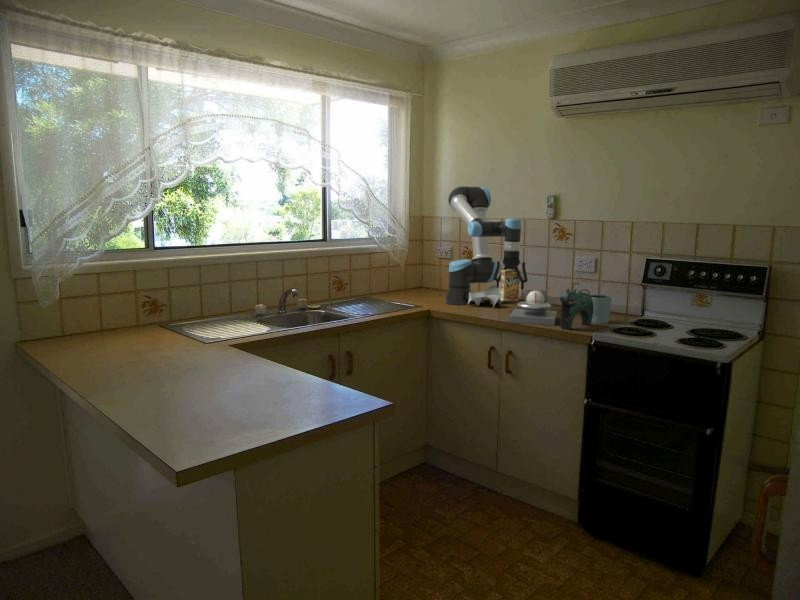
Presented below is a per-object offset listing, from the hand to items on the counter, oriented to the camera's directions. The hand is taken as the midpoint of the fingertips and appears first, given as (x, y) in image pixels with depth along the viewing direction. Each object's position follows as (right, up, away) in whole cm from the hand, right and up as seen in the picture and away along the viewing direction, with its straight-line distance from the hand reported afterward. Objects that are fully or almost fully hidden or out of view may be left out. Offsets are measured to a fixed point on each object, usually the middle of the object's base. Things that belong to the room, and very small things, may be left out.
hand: (509, 295), depth 289 cm
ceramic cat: (+23, -15, -33) cm, 43 cm away
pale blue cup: (+37, -13, -21) cm, 44 cm away
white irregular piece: (-7, -5, +25) cm, 27 cm away
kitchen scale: (+8, -12, -18) cm, 23 cm away
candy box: (0, -3, 0) cm, 3 cm away
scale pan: (+8, -6, -19) cm, 21 cm away
